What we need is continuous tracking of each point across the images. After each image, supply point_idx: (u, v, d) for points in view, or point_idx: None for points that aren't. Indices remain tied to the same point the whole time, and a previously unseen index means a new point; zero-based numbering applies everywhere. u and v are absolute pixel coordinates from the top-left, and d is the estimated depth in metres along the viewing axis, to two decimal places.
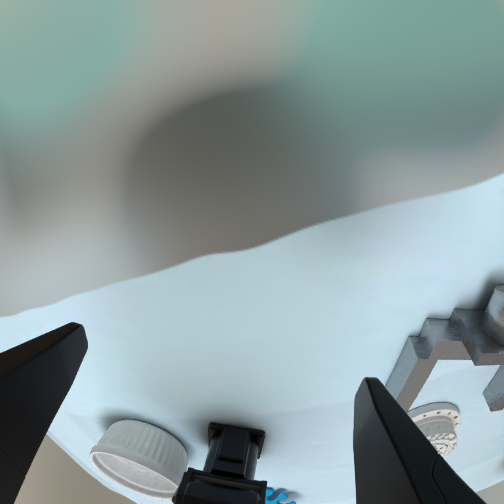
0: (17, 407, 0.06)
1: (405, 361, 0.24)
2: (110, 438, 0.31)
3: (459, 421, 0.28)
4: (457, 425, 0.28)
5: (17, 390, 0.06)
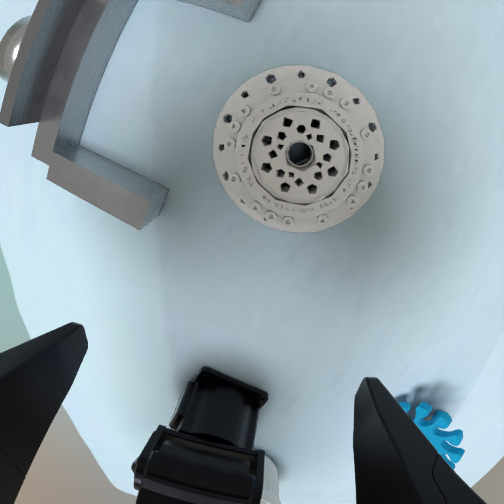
0: (17, 407, 0.06)
1: None
2: None
3: (296, 68, 0.15)
4: (311, 72, 0.15)
5: (17, 390, 0.06)
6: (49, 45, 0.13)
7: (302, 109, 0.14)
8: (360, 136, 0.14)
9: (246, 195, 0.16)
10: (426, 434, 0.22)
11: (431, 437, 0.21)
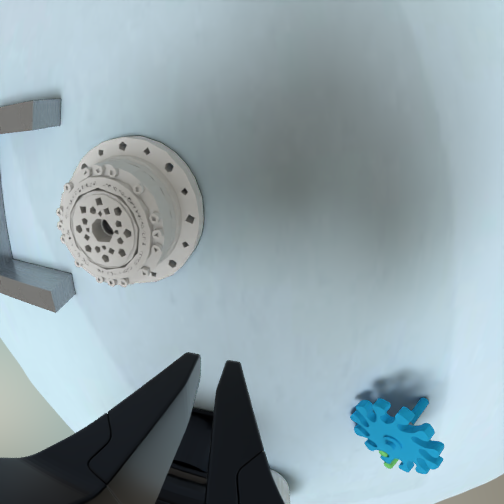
0: (150, 465, 0.06)
1: None
2: None
3: (96, 149, 0.18)
4: (106, 146, 0.18)
5: (152, 447, 0.06)
6: None
7: (87, 194, 0.16)
8: (133, 193, 0.16)
9: None
10: (394, 431, 0.21)
11: (400, 434, 0.20)
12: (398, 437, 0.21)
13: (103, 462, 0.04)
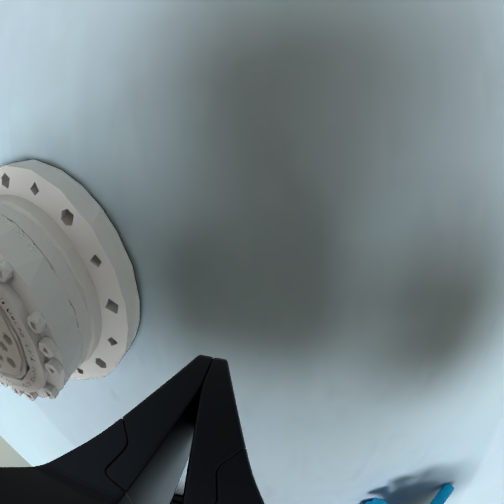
0: (166, 470, 0.06)
1: None
2: None
3: None
4: None
5: (168, 451, 0.06)
6: None
7: None
8: None
9: None
10: None
11: None
12: None
13: (121, 469, 0.04)
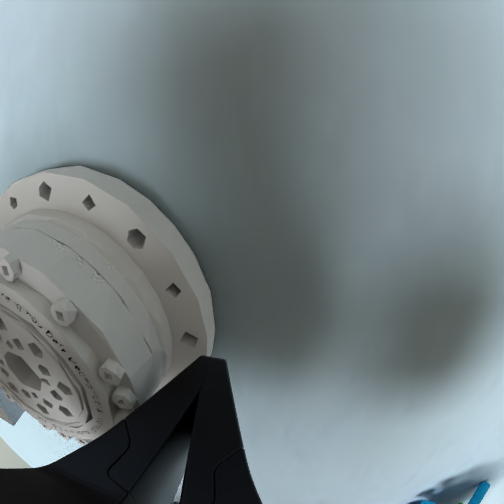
0: (168, 470, 0.06)
1: None
2: None
3: (6, 196, 0.08)
4: (19, 191, 0.08)
5: (170, 452, 0.06)
6: None
7: None
8: (55, 323, 0.06)
9: None
10: None
11: None
12: None
13: (123, 469, 0.04)
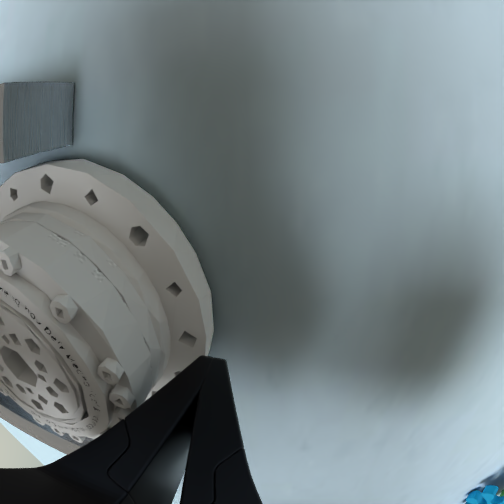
0: (167, 470, 0.06)
1: None
2: None
3: (6, 186, 0.08)
4: (20, 182, 0.08)
5: (170, 452, 0.06)
6: None
7: None
8: (54, 319, 0.06)
9: None
10: None
11: None
12: None
13: (123, 469, 0.04)
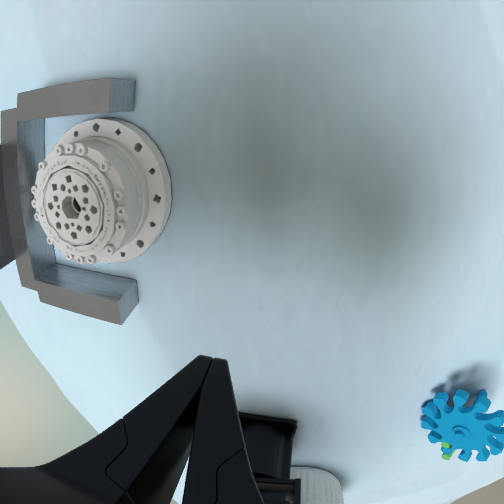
0: (166, 470, 0.06)
1: None
2: None
3: (72, 130, 0.17)
4: (81, 127, 0.17)
5: (168, 451, 0.06)
6: None
7: (59, 172, 0.16)
8: (99, 171, 0.15)
9: None
10: (468, 420, 0.20)
11: (474, 422, 0.19)
12: (470, 426, 0.20)
13: (121, 469, 0.04)
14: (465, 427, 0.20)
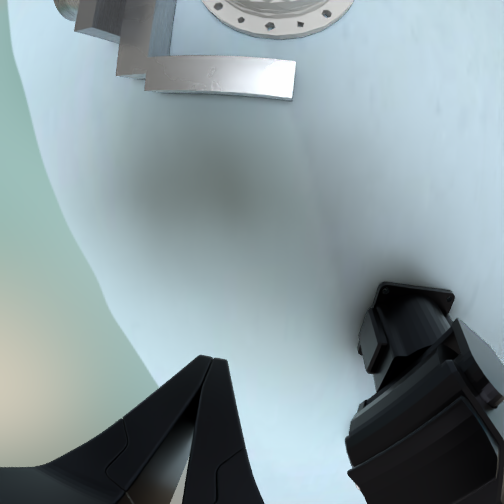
0: (166, 470, 0.06)
1: None
2: None
3: None
4: None
5: (168, 451, 0.06)
6: None
7: None
8: None
9: None
10: None
11: None
12: None
13: (121, 469, 0.04)
14: None
